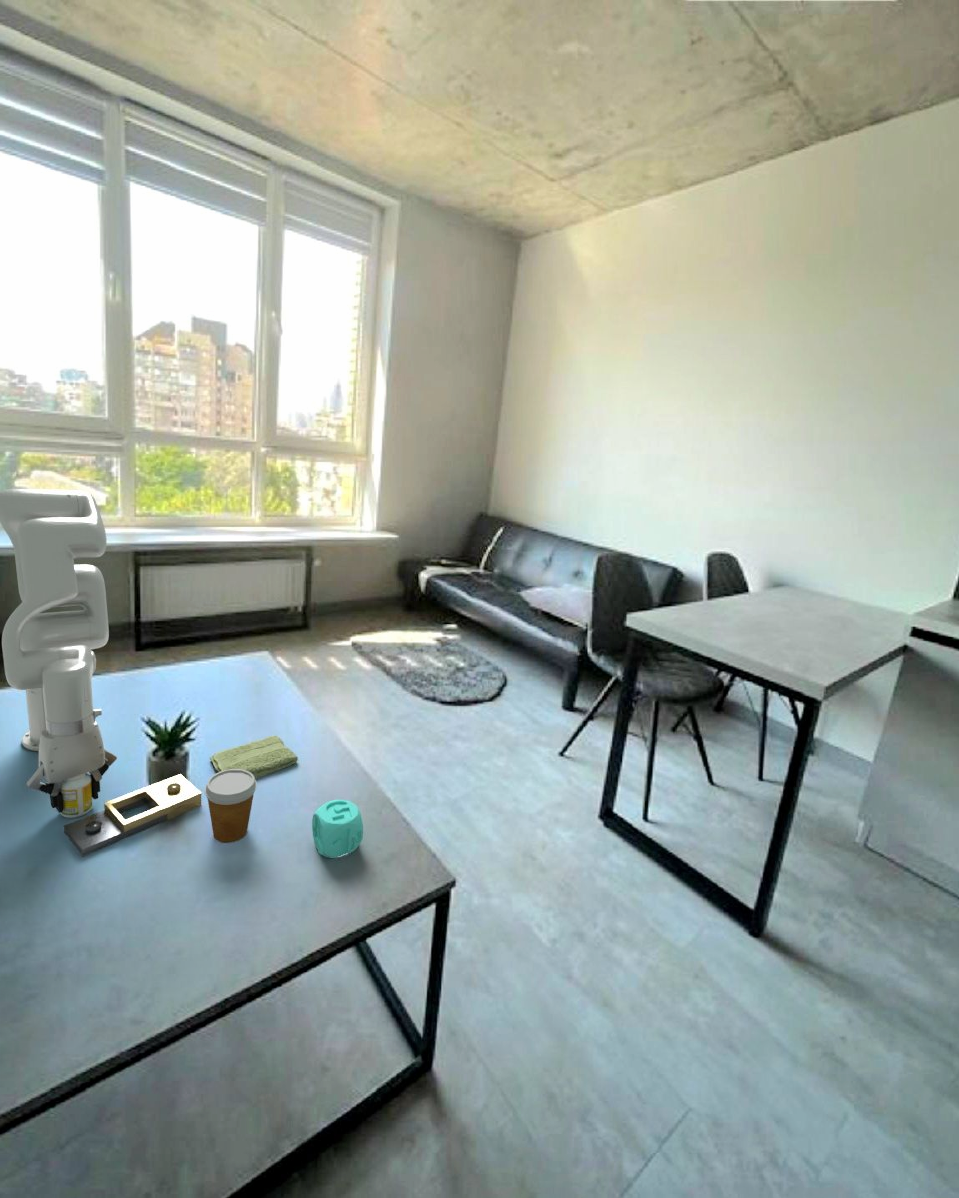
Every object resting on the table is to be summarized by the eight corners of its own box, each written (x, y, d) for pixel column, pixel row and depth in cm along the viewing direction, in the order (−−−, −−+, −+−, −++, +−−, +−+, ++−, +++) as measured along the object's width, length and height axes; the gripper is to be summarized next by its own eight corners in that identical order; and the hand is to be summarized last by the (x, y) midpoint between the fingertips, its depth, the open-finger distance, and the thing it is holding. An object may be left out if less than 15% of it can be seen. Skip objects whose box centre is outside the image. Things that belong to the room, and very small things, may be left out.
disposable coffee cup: (265, 826, 118) (267, 776, 115) (232, 855, 109) (233, 802, 106) (228, 811, 121) (229, 762, 117) (193, 838, 112) (192, 786, 109)
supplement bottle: (65, 822, 112) (61, 780, 109) (56, 808, 115) (53, 767, 112) (96, 811, 116) (94, 770, 113) (87, 798, 119) (85, 758, 116)
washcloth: (206, 762, 137) (206, 750, 136) (277, 742, 149) (277, 731, 148) (227, 790, 128) (227, 777, 127) (300, 766, 140) (301, 755, 139)
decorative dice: (322, 863, 110) (324, 828, 108) (310, 837, 117) (312, 804, 115) (361, 852, 115) (364, 818, 112) (348, 827, 121) (351, 795, 119)
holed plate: (64, 832, 109) (62, 814, 108) (180, 786, 126) (180, 770, 125) (82, 856, 104) (81, 838, 103) (201, 805, 121) (201, 789, 120)
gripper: (111, 702, 119) (115, 777, 124) (8, 728, 105) (17, 812, 110) (127, 716, 114) (130, 793, 119) (22, 745, 101) (30, 831, 106)
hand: (76, 801), depth 115 cm, fingers closed on supplement bottle, 5 cm apart
